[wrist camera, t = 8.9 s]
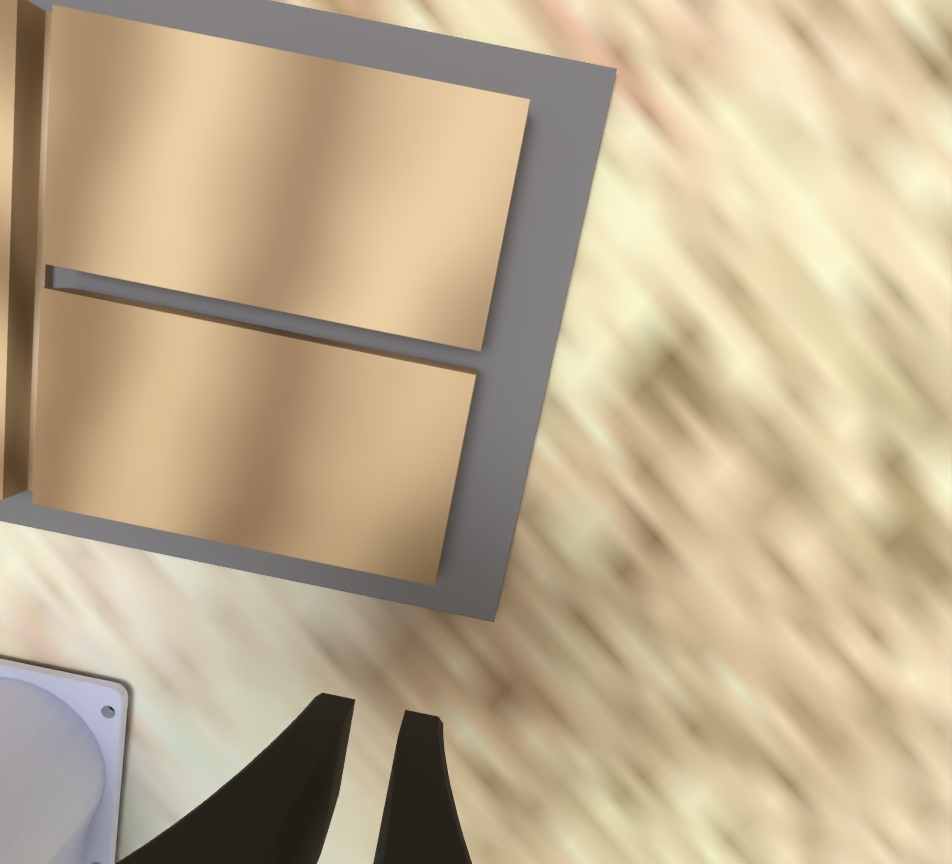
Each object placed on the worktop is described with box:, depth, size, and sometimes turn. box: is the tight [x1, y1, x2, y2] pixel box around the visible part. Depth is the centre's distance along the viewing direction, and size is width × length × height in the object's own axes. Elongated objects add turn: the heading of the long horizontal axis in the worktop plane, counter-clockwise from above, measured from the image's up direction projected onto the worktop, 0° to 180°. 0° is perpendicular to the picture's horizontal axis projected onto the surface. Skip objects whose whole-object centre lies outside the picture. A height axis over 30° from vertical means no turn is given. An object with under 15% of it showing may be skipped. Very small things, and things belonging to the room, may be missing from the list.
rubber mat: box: [0, 0, 617, 622], centre depth 20 cm, size 18×24×1 cm
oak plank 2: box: [32, 288, 478, 586], centre depth 20 cm, size 13×7×1 cm, turn 79°
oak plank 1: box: [42, 5, 530, 351], centre depth 18 cm, size 13×7×1 cm, turn 79°
